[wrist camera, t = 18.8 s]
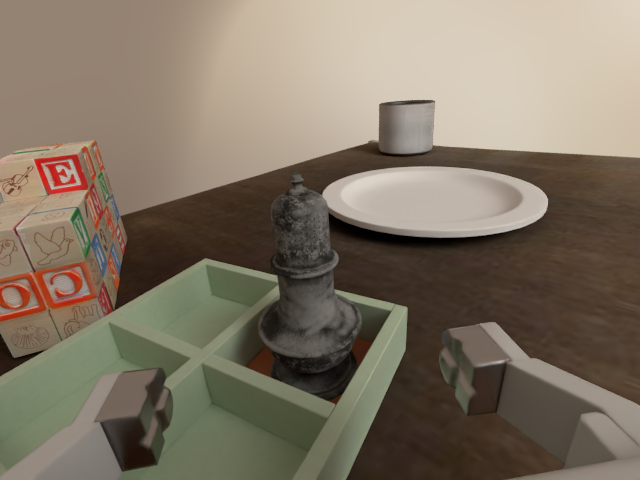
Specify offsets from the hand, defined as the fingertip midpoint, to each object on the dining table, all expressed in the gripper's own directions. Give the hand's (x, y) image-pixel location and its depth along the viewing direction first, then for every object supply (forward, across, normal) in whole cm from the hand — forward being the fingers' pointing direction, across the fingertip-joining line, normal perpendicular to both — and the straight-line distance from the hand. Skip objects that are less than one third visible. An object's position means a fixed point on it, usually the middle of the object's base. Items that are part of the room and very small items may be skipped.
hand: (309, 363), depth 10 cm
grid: (+8, +6, +9) cm, 13 cm away
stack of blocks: (+24, +20, +9) cm, 33 cm away
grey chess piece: (+8, 0, +8) cm, 12 cm away
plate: (+36, -19, +9) cm, 41 cm away
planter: (+74, -30, +9) cm, 81 cm away
